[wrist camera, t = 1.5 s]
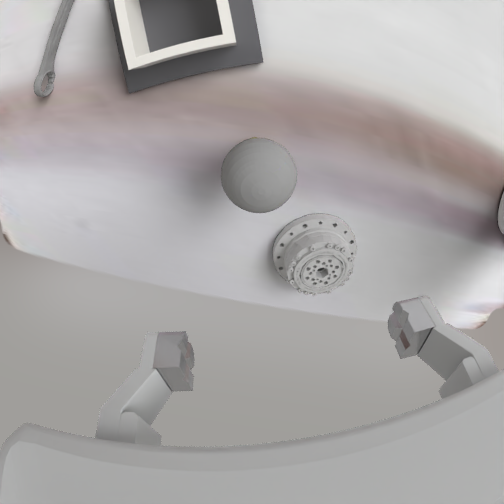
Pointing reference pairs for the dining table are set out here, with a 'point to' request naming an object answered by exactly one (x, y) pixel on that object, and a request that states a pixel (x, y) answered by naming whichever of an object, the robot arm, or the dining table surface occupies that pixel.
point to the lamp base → (182, 38)
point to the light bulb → (258, 175)
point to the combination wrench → (52, 50)
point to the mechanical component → (315, 253)
